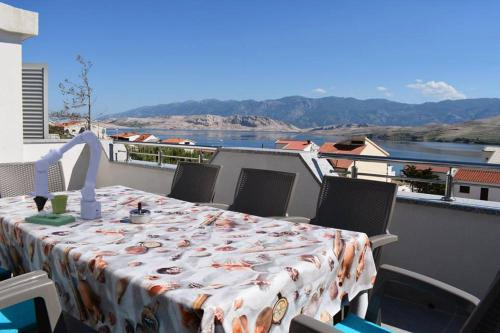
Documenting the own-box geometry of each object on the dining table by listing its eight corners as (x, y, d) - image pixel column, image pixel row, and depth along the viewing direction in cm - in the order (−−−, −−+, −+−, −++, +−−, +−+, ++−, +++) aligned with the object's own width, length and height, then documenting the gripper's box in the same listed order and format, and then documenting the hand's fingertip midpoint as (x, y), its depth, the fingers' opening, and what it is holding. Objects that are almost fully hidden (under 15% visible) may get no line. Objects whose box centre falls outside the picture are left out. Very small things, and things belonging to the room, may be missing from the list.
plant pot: (54, 215, 204) (54, 198, 203) (46, 212, 209) (45, 196, 208) (72, 212, 211) (72, 196, 210) (63, 209, 217) (63, 194, 216)
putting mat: (75, 221, 193) (75, 217, 193) (57, 226, 183) (57, 222, 182) (43, 216, 199) (43, 213, 199) (24, 221, 189) (24, 217, 189)
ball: (45, 216, 194) (49, 213, 192) (39, 219, 191) (43, 216, 189) (42, 210, 194) (45, 207, 192) (35, 212, 191) (39, 210, 189)
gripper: (22, 183, 189) (22, 211, 190) (46, 186, 184) (45, 215, 185) (35, 181, 196) (34, 208, 197) (58, 185, 191) (57, 212, 192)
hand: (40, 211), depth 192 cm, fingers closed, pressing on ball
